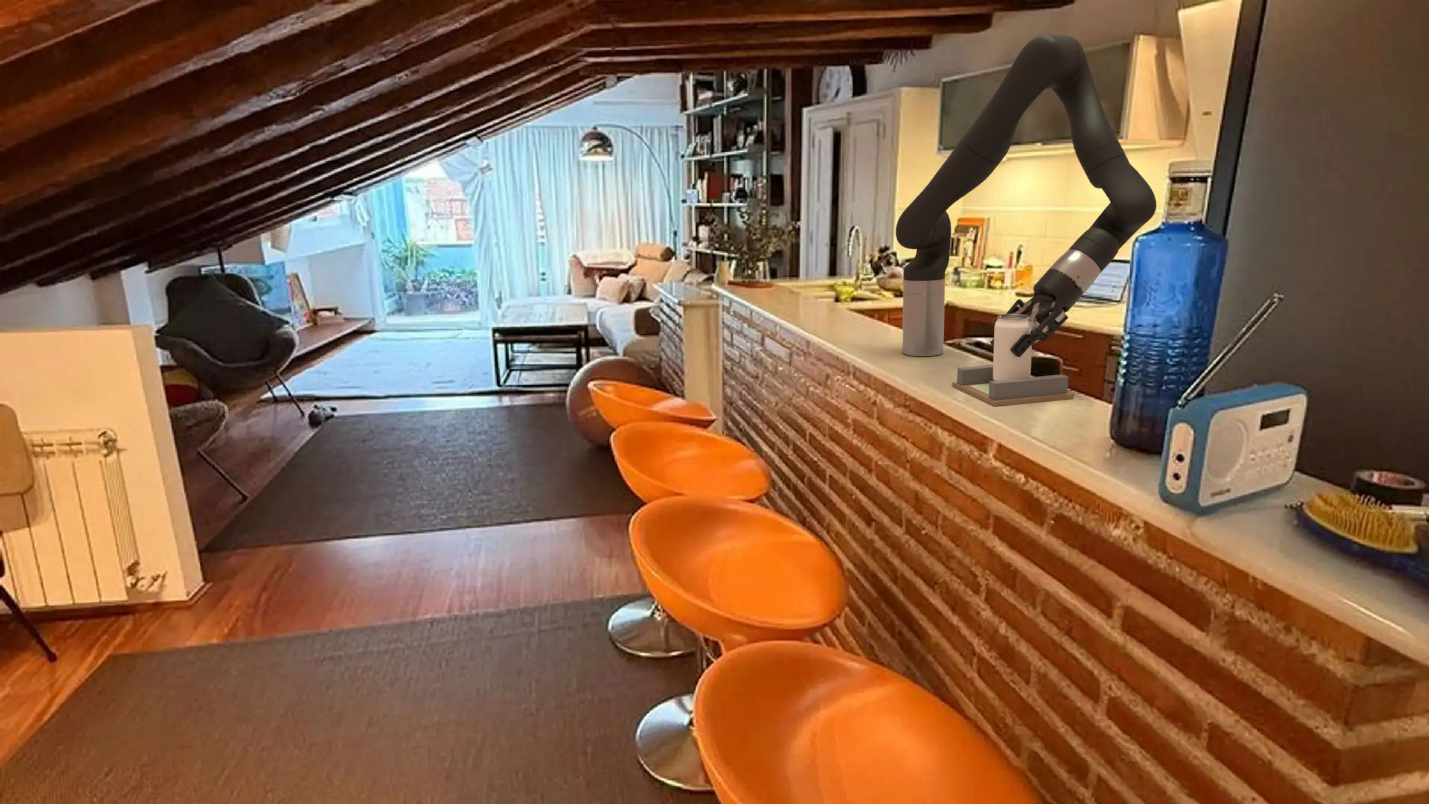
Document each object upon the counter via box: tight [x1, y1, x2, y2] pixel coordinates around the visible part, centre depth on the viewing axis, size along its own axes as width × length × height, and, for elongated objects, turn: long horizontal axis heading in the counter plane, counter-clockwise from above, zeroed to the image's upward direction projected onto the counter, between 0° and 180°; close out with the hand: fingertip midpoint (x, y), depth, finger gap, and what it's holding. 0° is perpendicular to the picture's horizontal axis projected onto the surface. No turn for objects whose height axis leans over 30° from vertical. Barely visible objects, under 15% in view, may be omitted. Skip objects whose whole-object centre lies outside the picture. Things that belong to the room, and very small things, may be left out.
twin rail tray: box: [951, 364, 1074, 407], centre depth 146 cm, size 16×15×4 cm
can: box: [992, 313, 1033, 381], centre depth 145 cm, size 6×6×12 cm
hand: (1004, 350), depth 145 cm, fingers closed on can, 6 cm apart
